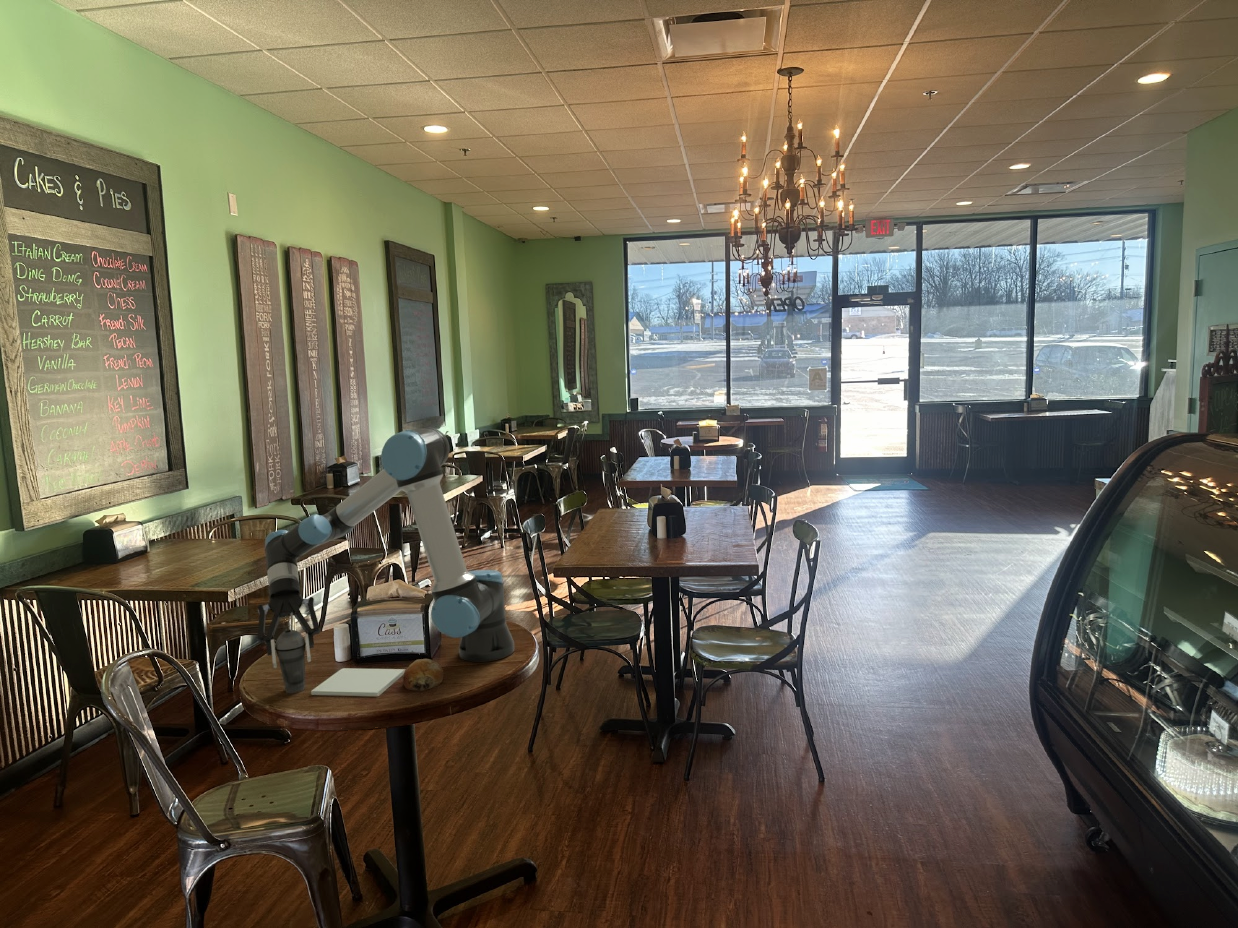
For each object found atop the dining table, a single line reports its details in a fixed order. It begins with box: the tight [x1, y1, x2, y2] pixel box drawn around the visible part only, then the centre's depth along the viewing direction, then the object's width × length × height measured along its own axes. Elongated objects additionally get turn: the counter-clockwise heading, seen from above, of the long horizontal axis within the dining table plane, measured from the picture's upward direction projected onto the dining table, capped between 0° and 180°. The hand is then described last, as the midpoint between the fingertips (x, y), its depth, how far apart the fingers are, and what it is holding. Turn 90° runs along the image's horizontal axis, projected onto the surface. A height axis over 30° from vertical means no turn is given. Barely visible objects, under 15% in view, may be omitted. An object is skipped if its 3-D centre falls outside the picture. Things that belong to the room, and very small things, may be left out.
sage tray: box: [310, 667, 406, 697], centre depth 210 cm, size 18×15×1 cm
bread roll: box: [402, 658, 444, 692], centre depth 208 cm, size 10×10×8 cm
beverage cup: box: [275, 613, 306, 694], centre depth 207 cm, size 7×7×20 cm
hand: (292, 662), depth 204 cm, fingers closed on beverage cup, 7 cm apart
